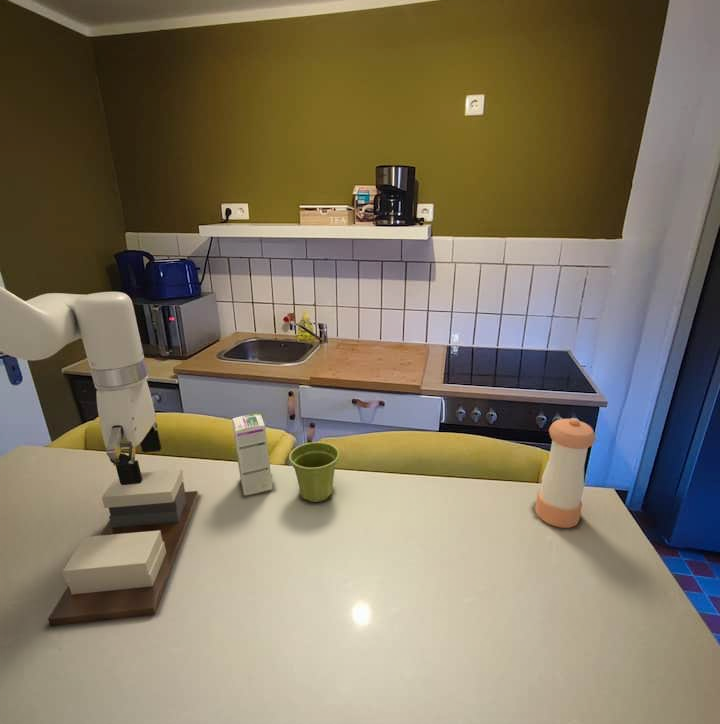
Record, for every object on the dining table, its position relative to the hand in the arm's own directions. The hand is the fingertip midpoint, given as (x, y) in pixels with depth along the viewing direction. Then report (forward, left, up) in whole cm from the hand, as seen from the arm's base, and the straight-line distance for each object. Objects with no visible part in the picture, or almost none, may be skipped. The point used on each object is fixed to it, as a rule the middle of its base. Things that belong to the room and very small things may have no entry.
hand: (142, 466), depth 73 cm
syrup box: (+17, +8, -11) cm, 22 cm away
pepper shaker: (+72, -8, -11) cm, 73 cm away
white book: (0, 0, -5) cm, 5 cm away
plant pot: (+29, +4, -11) cm, 31 cm away
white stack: (-1, -13, -10) cm, 16 cm away
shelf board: (0, -7, -11) cm, 13 cm away
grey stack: (0, 0, -10) cm, 10 cm away
